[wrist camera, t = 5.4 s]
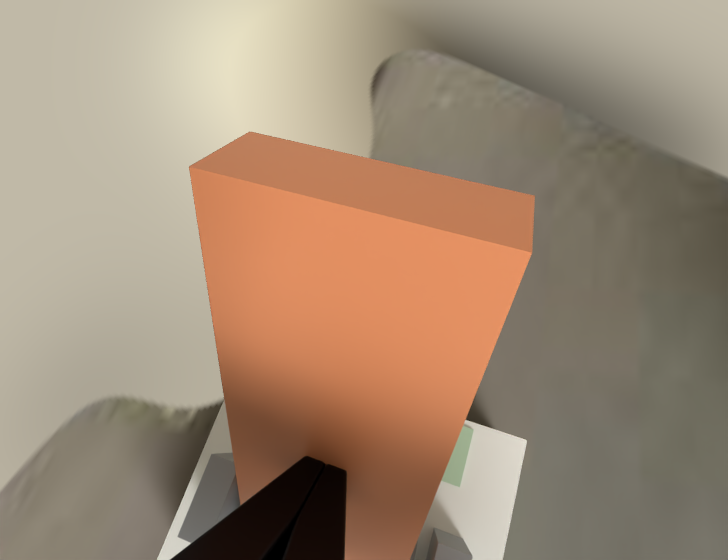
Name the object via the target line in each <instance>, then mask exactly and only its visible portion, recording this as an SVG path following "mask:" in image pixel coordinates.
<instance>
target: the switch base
mask: <svg viewBox="0 0 728 560" xmlns="http://www.w3.org/2000/svg"><path fill="white" fill-rule="evenodd" d="M526 443H527V440H525V439H522V438H519V437H516V436H513V435H510V434H507V433H504V432H501V431H498V430H495V429H492V428H489V427H486V426H483V425H480V424H477V423H474V422H471V421H468V420H465V422H464V425H463V427H462V430H461V432H460V435H459V437H458V440H457V442H456V445H455V447H454V450H453V452H452V455H451V457H450V460H449V462H448V465H447V467H446V470H445V472H444V475H443V477H442V480H441V482H440V485H439V487H438V490H437V492H436V495H435V498H434V500H433V503H432V505H431V508H430V510H429V513H428V515H427V518H426V520H425V523H424V525H423V528H422V530H421V533H420V535H419V538H418V544H417V549H416V554H415V559H414V560H503V555H504V550H505V545H506V540H507V536H508V531H509V526H510V521H511V516H512V511H513V506H514V501H515V497H516V492H517V487H518V482H519V477H520V472H521V467H522V462H523V458H524V453H525V448H526ZM240 505H241V504H240V498H239V491H238V485H237V478H236V472H235V465H234V459H233V452H232V445H231V439H230V432H229V426H228V419H227V413H226V406H225V400H224V401H223V404H222V406H221V408H220V411H219V413H218V416H217V418H216V420H215V423H214V425H213V427H212V430H211V432H210V435H209V437H208V439H207V442H206V444H205V447H204V449H203V451H202V454H201V456H200V458H199V461H198V463H197V466H196V468H195V470H194V473H193V475H192V478H191V480H190V482H189V485H188V487H187V490H186V492H185V494H184V497H183V499H182V501H181V504H180V506H179V509H178V511H177V513H176V516H175V518H174V521H173V523H172V525H171V528H170V530H169V532H168V535H167V537H166V540H165V542H164V544H163V547H162V549H161V552H160V554H159V556H158V559H157V560H170V559H171V558H173V557H174V556H175V555H176V554H178V553H179V552H180V551H182V550H183V549H184V548H186V547H187V546H188V545H189V544H191V543H192V542H193V541H195V540H196V539H197V538H199V537H200V536H201V535H202V534H204V533H205V532H206V531H208V530H209V529H210V528H212V527H213V526H214V525H216V524H217V523H218V522H219V521H221V520H222V519H223V518H225V517H226V516H227V515H229V514H230V513H231V512H232V511H234V510H235V509H236V508H238V507H239V506H240Z"/></svg>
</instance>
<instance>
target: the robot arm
mask: <svg viewBox="0 0 728 560" xmlns="http://www.w3.org/2000/svg"><path fill="white" fill-rule="evenodd" d="M346 496H347V471H346V470H344V469H341V468H338V467H336V466H333V465H330V464H327V465H326V466H325V463H324V462H322V461H320V460H317V459H315V458H312V457H309V456H304V457H303V458H301V459H300V460H299V461H297V462H296V463H295V464H294V465H292V466H291V467H290V468H288V469H287V470H286V471H284V472H283V473H282V474H281V475H279V476H278V477H277V478H275V479H274V480H273V481H271V482H270V483H269V484H268V485H266V486H265V487H264V488H262V489H261V490H260V491H258V492H257V493H256V494H255V495H253V496H252V497H251V498H249V499H248V500H247V501H245V502H244V503H243V504H242V505H240V506H239V507H238V508H236V509H235V510H234V511H232V512H231V513H230V514H229V515H227V516H226V517H225V518H223V519H222V520H221V521H219V522H218V523H217V524H216V525H214V526H213V527H212V528H210V529H209V530H208V531H206V532H205V533H204V534H202V535H201V536H200V537H199V538H197V539H196V540H195V541H193V542H192V543H191V544H189V545H188V546H187V547H186V548H184V549H183V550H182V551H180V552H179V553H178V554H176V555H175V556H174V557H173V558H171V559H170V560H345V531H346Z"/></svg>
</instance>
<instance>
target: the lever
mask: <svg viewBox="0 0 728 560" xmlns="http://www.w3.org/2000/svg"><path fill="white" fill-rule="evenodd" d="M189 170H190V176H191V183H192V190H193V196H194V203H195V209H196V216H197V222H198V228H199V235H200V242H201V249H202V255H203V262H204V268H205V275H206V280H207V288H208V295H209V301H210V308H211V314H212V321H213V327H214V334H215V340H216V347H217V353H218V360H219V366H220V373H221V380H222V386H223V393H224V400H225V406H226V413H227V419H228V426H229V432H230V439H231V445H232V452H233V459H234V465H235V472H236V478H237V485H238V491H239V498H240V504H241V505H242V504H243V503H244V502H245V501H247V500H248V499H249V498H251V497H252V496H253V495H255V494H256V493H257V492H258V491H260V490H261V489H262V488H264V487H265V486H266V485H268V484H269V483H270V482H271V481H273V480H274V479H275V478H277V477H278V476H279V475H281V474H282V473H283V472H284V471H286V470H287V469H288V468H290V467H291V466H292V465H294V464H295V463H296V462H297V461H299V460H300V459H301V458H303V457H304V456H309V457H312V458H315V459H317V460H320V461H322V462H324V463H325V466H326V465H327V464H330V465H333V466H336V467H338V468H341V469H344V470H346V471H347V496H346V531H345V560H414V559H415V554H416V549H417V544H418V538H419V535H420V533H421V530H422V528H423V525H424V523H425V520H426V518H427V515H428V513H429V510H430V508H431V505H432V503H433V500H434V498H435V495H436V492H437V490H438V487H439V485H440V482H441V480H442V477H443V475H444V472H445V470H446V467H447V465H448V462H449V460H450V457H451V455H452V452H453V450H454V447H455V445H456V442H457V440H458V437H459V435H460V432H461V430H462V427H463V425H464V422H465V420H466V417H467V415H468V412H469V410H470V407H471V405H472V402H473V400H474V397H475V395H476V392H477V390H478V387H479V385H480V382H481V379H482V377H483V374H484V372H485V369H486V367H487V364H488V362H489V359H490V357H491V354H492V352H493V349H494V347H495V344H496V342H497V339H498V337H499V334H500V332H501V329H502V327H503V324H504V322H505V319H506V317H507V314H508V312H509V309H510V307H511V304H512V302H513V299H514V297H515V294H516V292H517V289H518V287H519V284H520V282H521V279H522V277H523V274H524V271H525V269H526V266H527V264H528V261H529V259H530V256H531V254H532V242H533V222H534V201H535V196H533V195H529V194H524V193H520V192H515V191H511V190H506V189H502V188H498V187H493V186H489V185H484V184H480V183H475V182H471V181H467V180H462V179H458V178H453V177H449V176H444V175H440V174H436V173H431V172H427V171H422V170H418V169H413V168H409V167H405V166H400V165H396V164H391V163H387V162H382V161H378V160H374V159H369V158H364V157H360V156H356V155H352V154H347V153H343V152H338V151H334V150H329V149H325V148H320V147H316V146H311V145H307V144H303V143H298V142H294V141H290V140H285V139H281V138H276V137H272V136H267V135H263V134H259V133H254V132H248V133H246V134H245V135H243V136H241V137H239V138H238V139H236V140H234V141H233V142H231V143H229V144H227V145H226V146H224V147H222V148H220V149H219V150H217V151H215V152H213V153H212V154H210V155H208V156H207V157H205V158H203V159H202V160H200V161H198V162H196V163H194V164H193V165H191V166H190V167H189Z"/></svg>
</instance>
